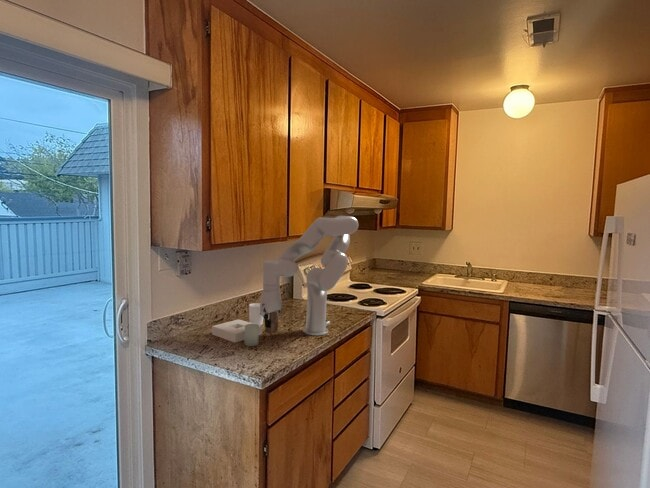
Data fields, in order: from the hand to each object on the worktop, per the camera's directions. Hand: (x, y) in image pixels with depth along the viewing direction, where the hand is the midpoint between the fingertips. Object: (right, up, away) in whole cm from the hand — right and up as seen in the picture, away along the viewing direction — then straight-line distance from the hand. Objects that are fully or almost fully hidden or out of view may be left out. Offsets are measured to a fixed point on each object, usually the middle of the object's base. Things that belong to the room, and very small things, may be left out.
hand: (271, 325), depth 180 cm
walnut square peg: (0, -3, 0) cm, 3 cm away
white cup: (-10, -3, +19) cm, 22 cm away
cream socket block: (-16, -4, +1) cm, 17 cm away
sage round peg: (-7, -6, -10) cm, 14 cm away
